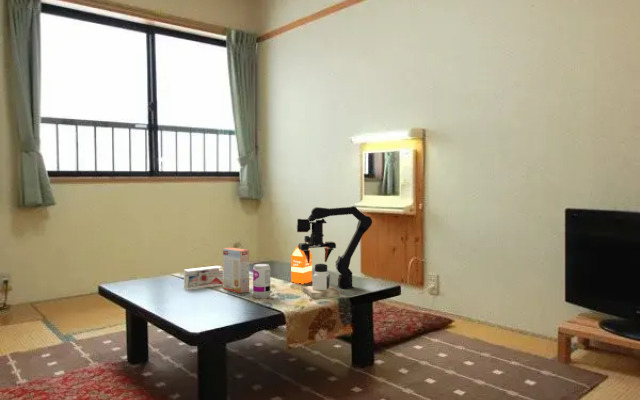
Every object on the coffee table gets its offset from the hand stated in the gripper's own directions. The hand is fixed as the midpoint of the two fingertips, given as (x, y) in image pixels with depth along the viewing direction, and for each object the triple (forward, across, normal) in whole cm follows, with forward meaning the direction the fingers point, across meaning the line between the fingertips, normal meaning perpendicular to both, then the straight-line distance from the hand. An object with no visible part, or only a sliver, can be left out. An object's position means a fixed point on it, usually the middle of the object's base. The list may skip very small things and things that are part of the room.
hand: (317, 262), depth 251 cm
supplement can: (+13, +31, +7) cm, 34 cm away
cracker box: (+13, +40, -9) cm, 43 cm away
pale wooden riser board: (+13, +3, +13) cm, 18 cm away
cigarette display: (+13, +53, -24) cm, 60 cm away
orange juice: (+13, +3, -16) cm, 21 cm away
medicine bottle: (+11, +3, +13) cm, 17 cm away
